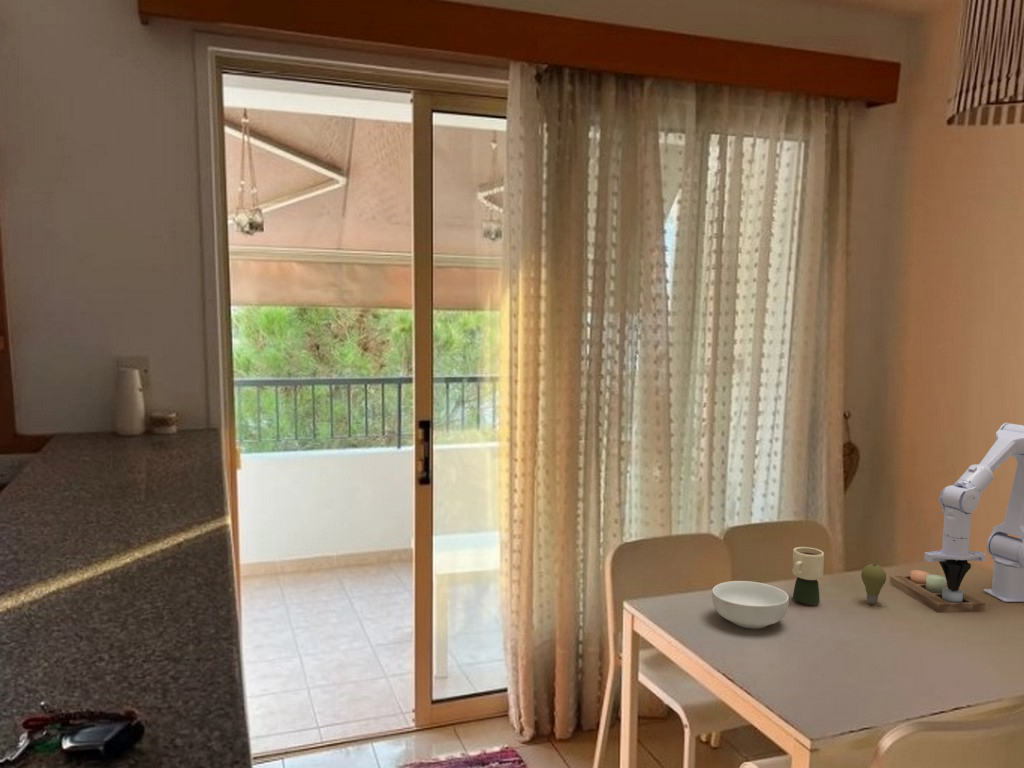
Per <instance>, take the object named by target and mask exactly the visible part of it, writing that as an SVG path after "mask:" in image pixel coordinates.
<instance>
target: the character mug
mask: <svg viewBox="0 0 1024 768" xmlns="http://www.w3.org/2000/svg"><path fill="white" fill-rule="evenodd" d="M824 560H825V552H824V551H823V550H821V549H819V548H814V547H807V546H799V547H798V546H797V547H794V548H793V549H792V562H793V565H792V569H791V570H792V571H791V572H792V574H793V575H794V576H795V577H796V580H795V583H794V588H793V593H792V600H793V601H794V602H799V603H801V604H802V605H803V604H809V605H817V604H820V598H821V597H820V587H819V580H821V579H823V576H824V564H825V563H824Z"/></svg>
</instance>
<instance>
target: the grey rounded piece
mask: <svg viewBox="0 0 1024 768" xmlns="http://www.w3.org/2000/svg"><path fill="white" fill-rule="evenodd" d="M963 592H964V591H963V590H961V589H960V590H958V591H952V590H950V589H948V587H945V588H943V589H942V599H943V600H945V601H947V602H948V603H963Z"/></svg>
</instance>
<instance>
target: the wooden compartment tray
mask: <svg viewBox="0 0 1024 768" xmlns="http://www.w3.org/2000/svg"><path fill="white" fill-rule="evenodd" d="M910 576H911V575H890V576H889V584H890V583H891V584H890V585H892V586H893V587H895V586H896V588H897V589H898V588H899V590H900V589H901V590H900V591H902V592H903V591H904V593H905V594H907V595H908V594H909V595H908V596H910V597H912V598H913V599H915V600H917V601H918V602H920V603H921V602H922V603H921V604H922V605H925V606H926V605H927V606H926V607H929V608H930V609H931V610H933V611H935V612H936V613H967V612H968V613H969V612H972V613H973V612H976V613H977V612H985V611H986V603H985V602H984V601H982V600H980V599H979V598H977V597H975V596H973V595H971V594H969V593H967V592H965V591H963V603H948V602H947V601H945V600H943V599H942V593H931V592H929V591H928V590H926V584H915V583H914V582H912V581H910ZM946 587H948V586H947V581H946ZM959 590H961V589H960V588H959Z"/></svg>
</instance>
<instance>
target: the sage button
mask: <svg viewBox="0 0 1024 768" xmlns="http://www.w3.org/2000/svg"><path fill="white" fill-rule="evenodd" d="M946 582H947V581H946V577H945V576H942V575H939V574H930V575H927V576H926V590H928V591H929V592H931V593H942V589H943V588H945V587H946Z"/></svg>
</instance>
